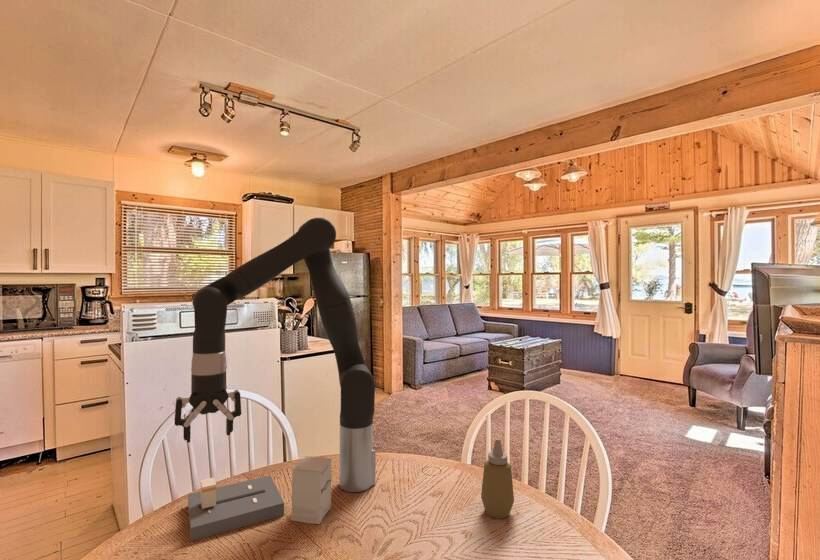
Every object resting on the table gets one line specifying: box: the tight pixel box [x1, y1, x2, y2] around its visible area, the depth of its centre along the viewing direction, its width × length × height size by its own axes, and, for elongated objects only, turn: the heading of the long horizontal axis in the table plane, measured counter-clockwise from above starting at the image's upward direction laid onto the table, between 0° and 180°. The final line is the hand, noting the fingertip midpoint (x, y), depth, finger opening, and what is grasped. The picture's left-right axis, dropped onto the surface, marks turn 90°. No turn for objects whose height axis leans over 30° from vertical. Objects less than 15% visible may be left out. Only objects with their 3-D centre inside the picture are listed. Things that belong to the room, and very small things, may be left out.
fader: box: [200, 477, 217, 509], centre depth 98 cm, size 3×4×5 cm
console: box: [187, 475, 285, 542], centre depth 101 cm, size 20×16×3 cm
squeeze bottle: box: [480, 438, 515, 519], centre depth 101 cm, size 8×8×18 cm
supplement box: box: [291, 455, 332, 525], centre depth 99 cm, size 7×7×13 cm
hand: (208, 437), depth 98 cm, fingers open, 8 cm apart
